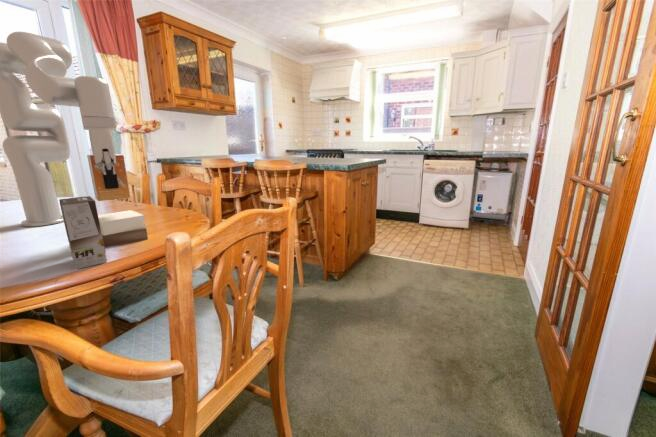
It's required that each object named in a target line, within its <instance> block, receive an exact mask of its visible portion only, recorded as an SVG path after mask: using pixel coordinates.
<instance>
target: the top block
mask: <svg viewBox="0 0 656 437" xmlns="http://www.w3.org/2000/svg"><path fill="white" fill-rule="evenodd" d="M98 218H99V223H100V228H101V233H102V235H104V236H105V235H110V234H115V233H120V232H125V231H130V230H135V229H140V228H146V227H147V226H146V220H145V215H144V214H142V213H140V212H137V211H135V210H132V209H129V210H123V211H116V212H111V213H110V212H109V213H102V214H98ZM146 229H147V228H146Z"/></svg>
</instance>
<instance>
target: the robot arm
mask: <svg viewBox="0 0 656 437" xmlns="http://www.w3.org/2000/svg"><path fill="white" fill-rule="evenodd" d="M72 64H73V56H72V53H71V51H70V49H69V47H68V46H66V44H65V43H64V42H62V41H61V40H57V39H55V38H50V37H46V36H43V35H40V34H38V35H37V34H35V33H30V32H26V31H13V32H11V33H10V34H9V35H7V37H6V42H1V41H0V117H1V119H2V122H3V124H4V126H5V127H6V128H7V129H9V130H11V131H16V132H33V133H35V132H37V133H38V132H39V133H41V132H42V133H43V132H44V133H45V134H46V135H36V134H35V135H33V134H32V135H31V134H29V135H27V134H26V135H25V134H24V135H23V134H20V135H11V136H8V137H6V138H5V139H3V141H2V148H3V149H2V150H3V151H4V154H5V157H6V158H7V159H8V161H9V163H10V166H11V169H12V171H13V175H14V179H15V182H16V185H17V189H18V192H19V196H20V201H21V205H22V207H23V211H24V216H25V218H26V219H24V220H22V221H21V226H22V227H27V228H28V227H43V226H48V225H55V224H60V223H64V220H63V215H62V212H61V208H60V204H59V200H58V196H57V193H56V188H55V184H54V181H53V180H54V179H53V176H52V174H51V172H50V171H49V170H48V169H47V168H46V167H44V166H43V165H42V163H55V162H56V163H58V162H65V161H67V160H69V159H70V157H71V149H70V143H69V138H68V133H67V129H66V125H65V120H64V118H63V115H62V114H61V112H60V111H59V110H58V109H57V107H54V105H55V106H66V107H74V108H75V107H78V108H79V112H80V116H81V117H80V118H81V122H82V128H83V130H85V131H86V130H87V131H88V135H89V142H90V148H91V152H92V155H94V159H95V164H96V165H98V163H102V168H103V173H104V175H103V179H104V184H105V188H106V189H113V188H119V185H118V180H117V174H116V173H115V168H114V165H115V164H116V155H115V154H116V150H115V149H116V148H115V147H116V146H115V141H114V137H113V136H114V135H113V131H117V126H116V125H117V124H116V120H115V115H114V109H113V103H112V97H111V92H110V86H109V83H108V82H107V81H106V80H105V79H103V78H102V77H101V78H100V77H97V76H91V75H90V76H89V75H88V76H87V75H80V76H76V77H75V78H73V77H65V76H66V75H67V70H68V69H70V67H71V66H72ZM15 74H20V75H24V78H25V80H26V84H27V85H26V84H25V83H24V82H23V81H22V80H21V79H20V78H19V77H18V76H16V75H15ZM29 88H30V89H29ZM30 90H31V91H32V92H33V93H34V94H35V95H36V96H37V97H39V99H41V100H42V101H44V102H45V103H47V104H40V103H34V102H33V100H32V97H31V96H32V95H31V91H30ZM48 104H50V105H48ZM52 105H53V106H52ZM103 155H104V156H103ZM102 159H103V160H102ZM113 160H114V162H113ZM103 161H105V163H106V164H103ZM111 162H112V163H111ZM113 163H114V164H113ZM105 170H106V171H105Z"/></svg>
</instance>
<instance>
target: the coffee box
mask: <svg viewBox="0 0 656 437" xmlns="http://www.w3.org/2000/svg"><path fill="white" fill-rule="evenodd" d="M95 200H96V199H94V198H92V196H91V195H88V196H79V197H78V196H76V197H70V198H61V199H60V198H59V200H58V202H59V207H60V212H61V215H62V216H63V220H64V221H63V224H64V227H65V231H66V237H67V241H68V244H69V249H70V252H71V256H72V261H73V263H74V266H75V269H77V270H79V269H84V268H88V267H91V266H97V265H100V264H106V263H107V262H108V261H107V260H108V259H107V254H106V249H105V248H106V247H104V243H103V238H102V233H101V228H100V223H99V218H98V215H99V214H98V210H97V209H98V208H97V203H96V201H95Z"/></svg>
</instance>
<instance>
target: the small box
mask: <svg viewBox="0 0 656 437" xmlns="http://www.w3.org/2000/svg"><path fill="white" fill-rule="evenodd" d="M115 155H116V164H115V165H114V168H115V173H116V174H117V180H118V185H119V188H113V189H106V188H105V184H104V179H103V175H104V173H103V168H102V163H98V165H96V164H95V159H94V155H93V154H87V155H86V156H87V163H88V167H89V171H90V177H91V182H92V189H93V192H94V198H95V200H97V202H102V201H103V202H104V201H115V200H123V199H125V200H126V199H130V198H131V193H130V187H129V180H128V175H127V168H126V162H125V156H124V154H121V153H120V154H116V153H115ZM103 156H104V155H103ZM102 160H103V159H102ZM113 162H114V160H113ZM111 163H112V162H111ZM103 164H106V163H105V161H103ZM113 164H114V163H113ZM105 171H106V170H105Z"/></svg>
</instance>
